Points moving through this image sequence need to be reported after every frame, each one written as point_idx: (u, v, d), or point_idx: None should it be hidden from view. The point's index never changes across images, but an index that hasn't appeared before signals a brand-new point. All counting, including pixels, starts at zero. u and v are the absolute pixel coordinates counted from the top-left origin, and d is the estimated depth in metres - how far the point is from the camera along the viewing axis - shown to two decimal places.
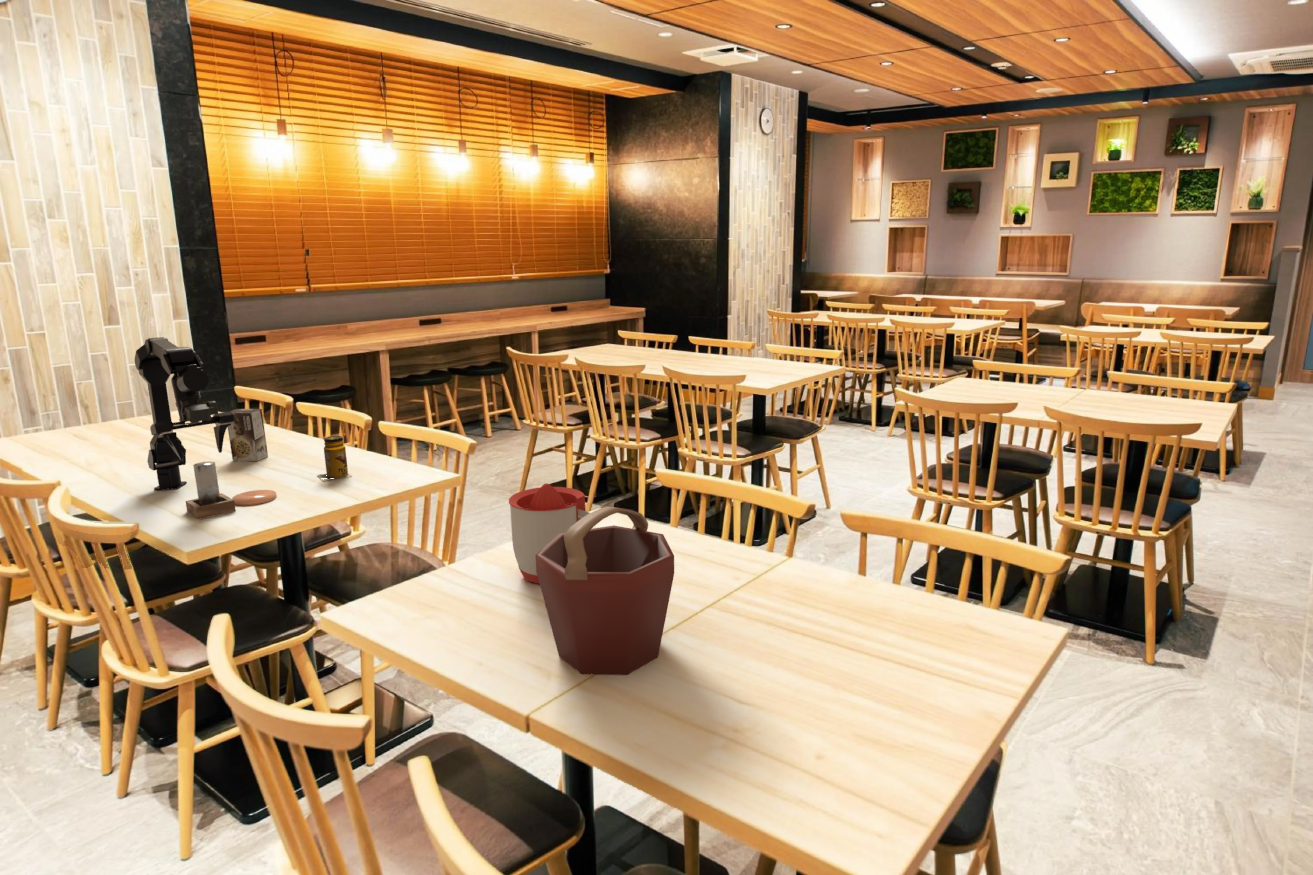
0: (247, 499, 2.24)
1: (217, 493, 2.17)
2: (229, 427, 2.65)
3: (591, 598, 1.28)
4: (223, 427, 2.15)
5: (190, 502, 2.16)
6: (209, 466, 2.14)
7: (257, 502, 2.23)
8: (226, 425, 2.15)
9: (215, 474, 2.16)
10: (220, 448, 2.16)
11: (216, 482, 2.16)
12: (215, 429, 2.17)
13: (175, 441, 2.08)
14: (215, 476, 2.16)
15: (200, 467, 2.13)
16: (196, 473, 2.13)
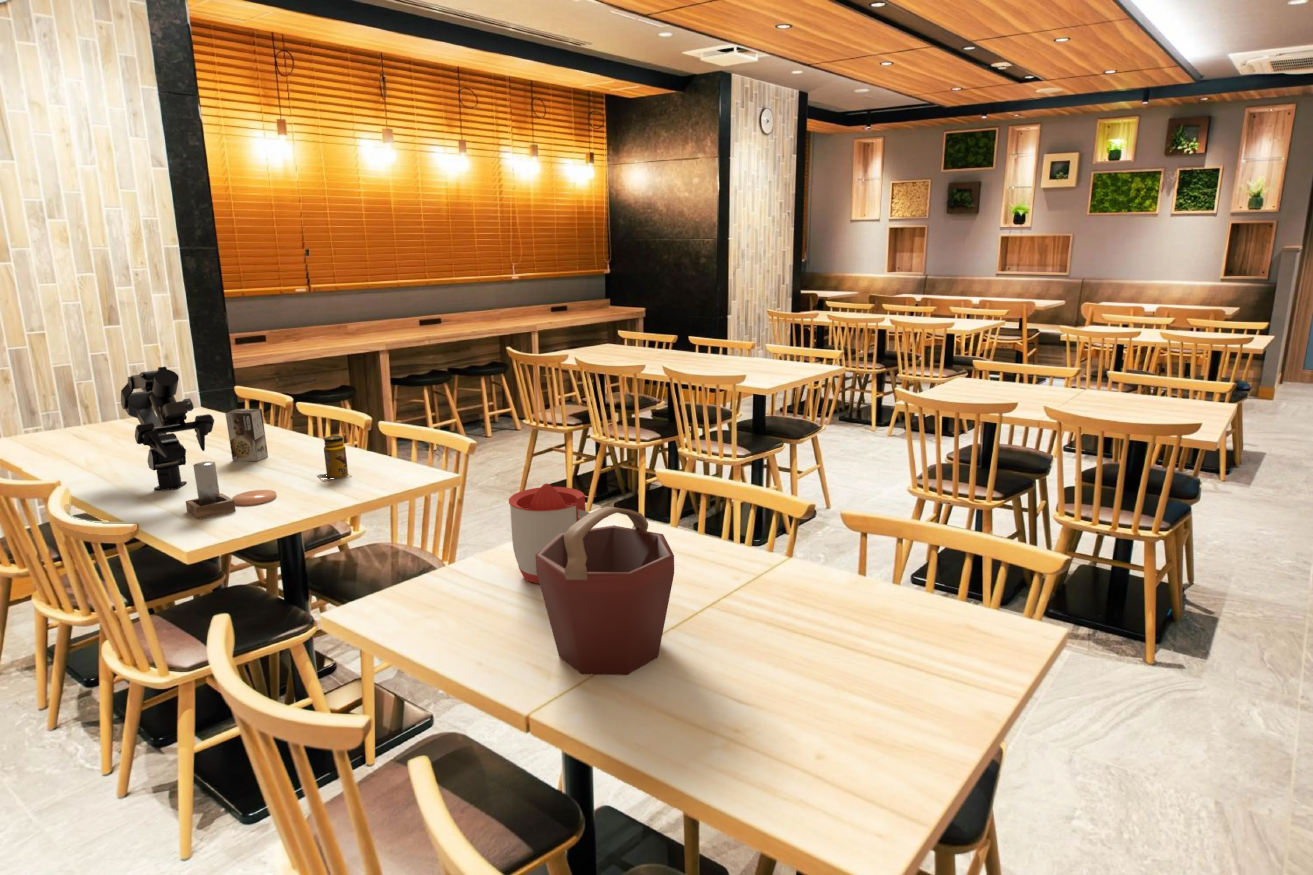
0: (247, 499, 2.24)
1: (217, 493, 2.17)
2: (229, 427, 2.65)
3: (591, 598, 1.28)
4: (202, 426, 2.28)
5: (190, 502, 2.16)
6: (209, 466, 2.14)
7: (257, 502, 2.23)
8: (205, 423, 2.29)
9: (215, 474, 2.16)
10: (203, 445, 2.27)
11: (216, 482, 2.16)
12: (197, 434, 2.30)
13: (158, 440, 2.21)
14: (215, 476, 2.16)
15: (200, 467, 2.13)
16: (196, 473, 2.13)
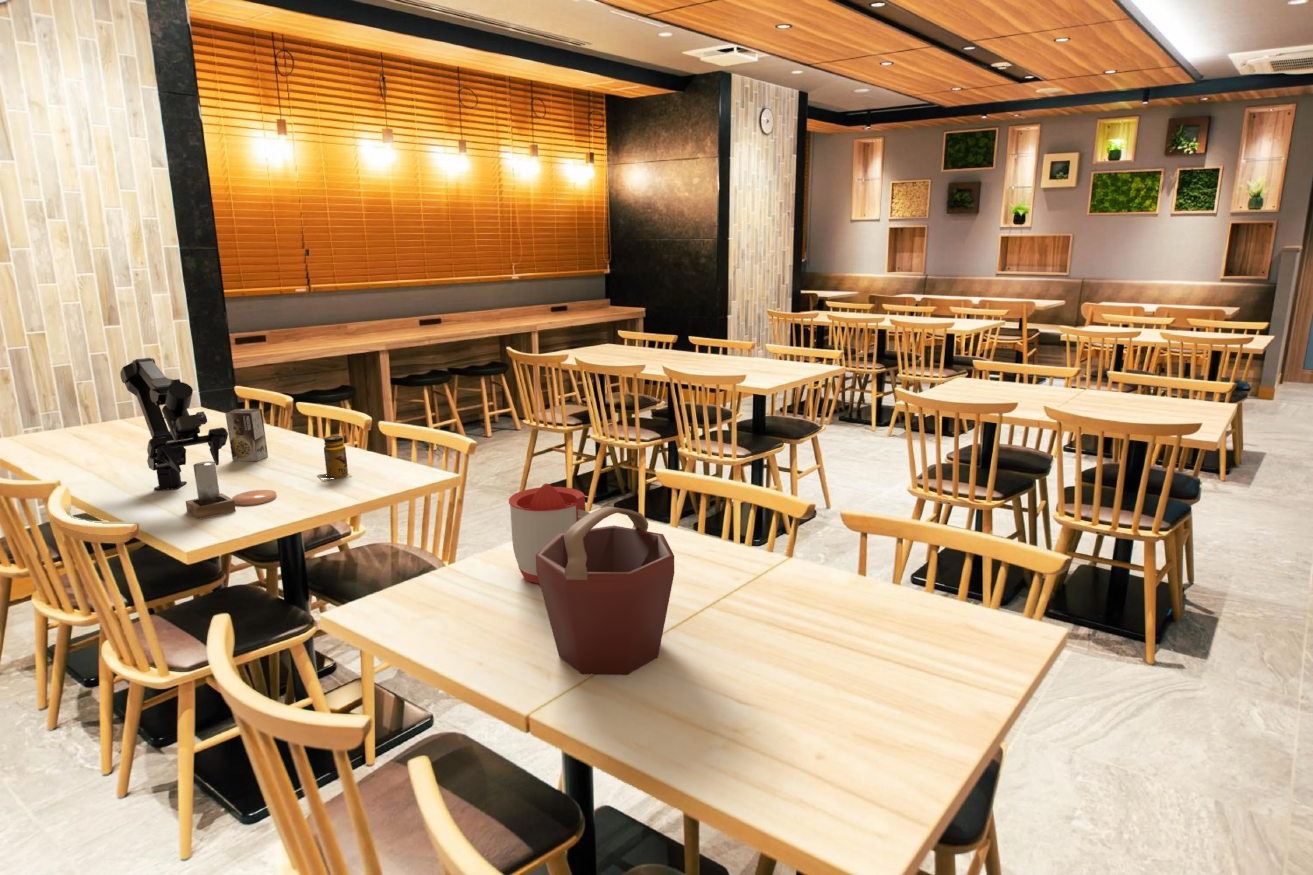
0: (247, 499, 2.24)
1: (217, 493, 2.17)
2: (229, 427, 2.65)
3: (591, 598, 1.28)
4: (216, 439, 2.23)
5: (190, 502, 2.16)
6: (209, 466, 2.14)
7: (257, 502, 2.23)
8: (219, 437, 2.23)
9: (215, 474, 2.16)
10: (217, 459, 2.22)
11: (216, 482, 2.16)
12: (210, 448, 2.25)
13: (171, 455, 2.15)
14: (215, 476, 2.16)
15: (200, 467, 2.13)
16: (196, 473, 2.13)
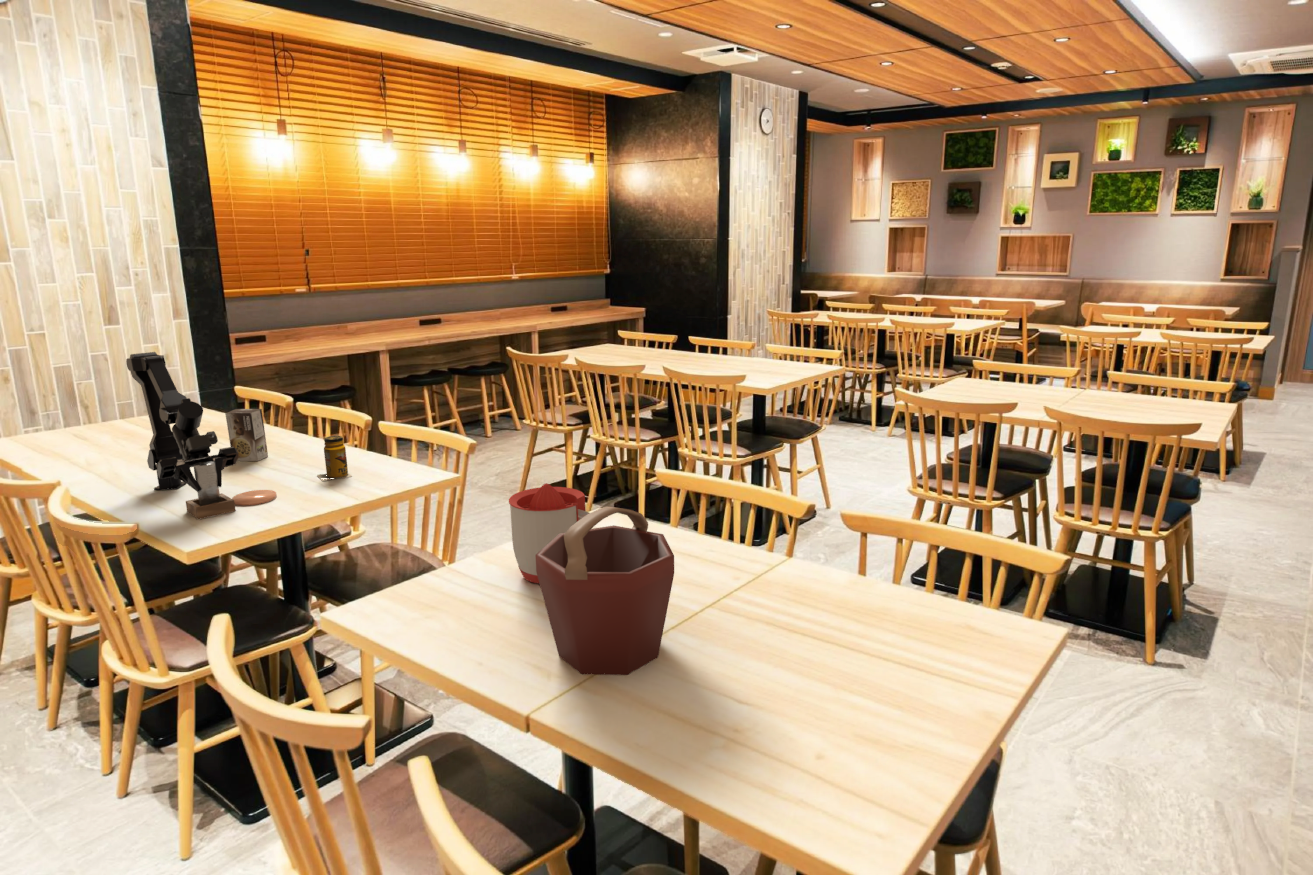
0: (247, 499, 2.24)
1: (217, 493, 2.17)
2: (229, 427, 2.65)
3: (591, 598, 1.28)
4: (219, 461, 2.19)
5: (190, 502, 2.16)
6: (209, 466, 2.14)
7: (257, 502, 2.23)
8: (221, 458, 2.19)
9: (215, 474, 2.16)
10: (219, 481, 2.17)
11: (216, 482, 2.16)
12: None
13: (189, 474, 2.14)
14: (215, 476, 2.16)
15: (200, 467, 2.13)
16: (196, 473, 2.13)
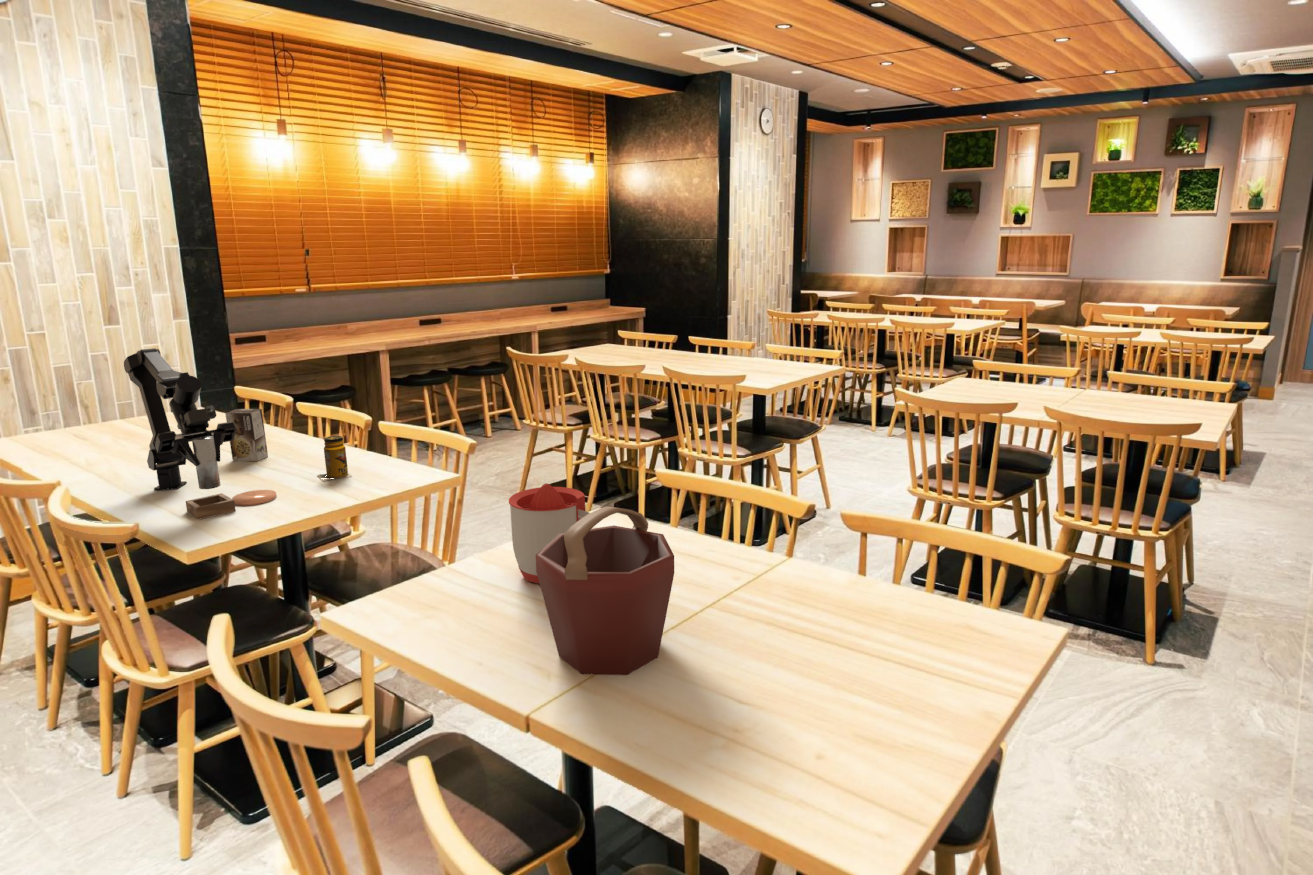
0: (247, 499, 2.24)
1: (216, 468, 2.16)
2: None
3: (591, 598, 1.28)
4: (217, 435, 2.18)
5: (190, 502, 2.16)
6: (208, 440, 2.13)
7: (257, 502, 2.23)
8: (220, 433, 2.18)
9: (214, 448, 2.15)
10: (218, 456, 2.16)
11: (215, 457, 2.15)
12: None
13: (188, 448, 2.13)
14: (214, 450, 2.15)
15: (199, 441, 2.12)
16: (195, 447, 2.12)
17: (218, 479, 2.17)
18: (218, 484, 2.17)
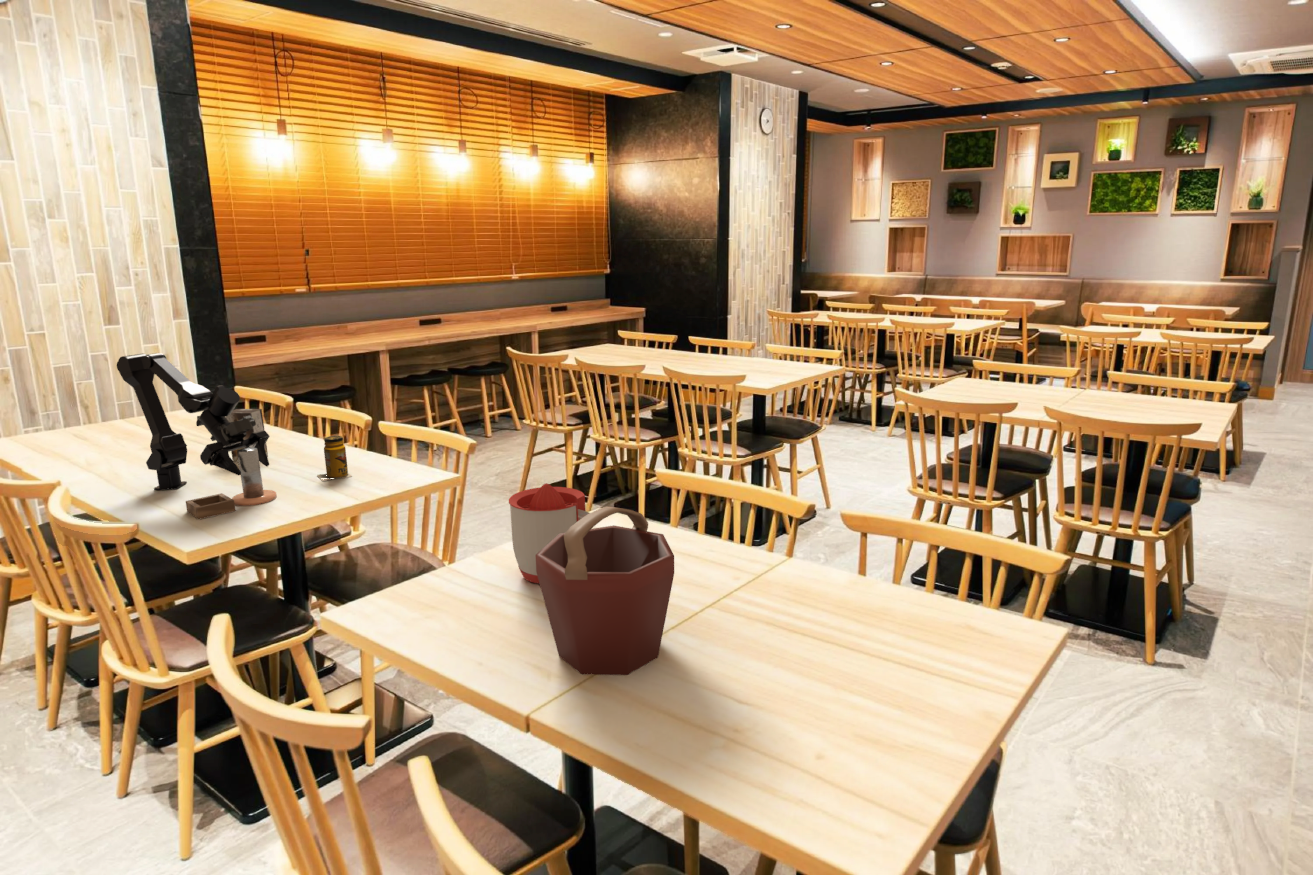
0: (247, 499, 2.24)
1: (261, 477, 2.27)
2: None
3: (591, 598, 1.28)
4: (262, 442, 2.30)
5: (190, 502, 2.16)
6: (255, 451, 2.24)
7: (257, 502, 2.23)
8: (264, 439, 2.31)
9: (258, 459, 2.26)
10: (267, 461, 2.29)
11: (259, 466, 2.27)
12: None
13: (229, 459, 2.21)
14: (258, 461, 2.26)
15: (247, 453, 2.22)
16: (242, 459, 2.23)
17: (262, 488, 2.28)
18: (263, 492, 2.28)
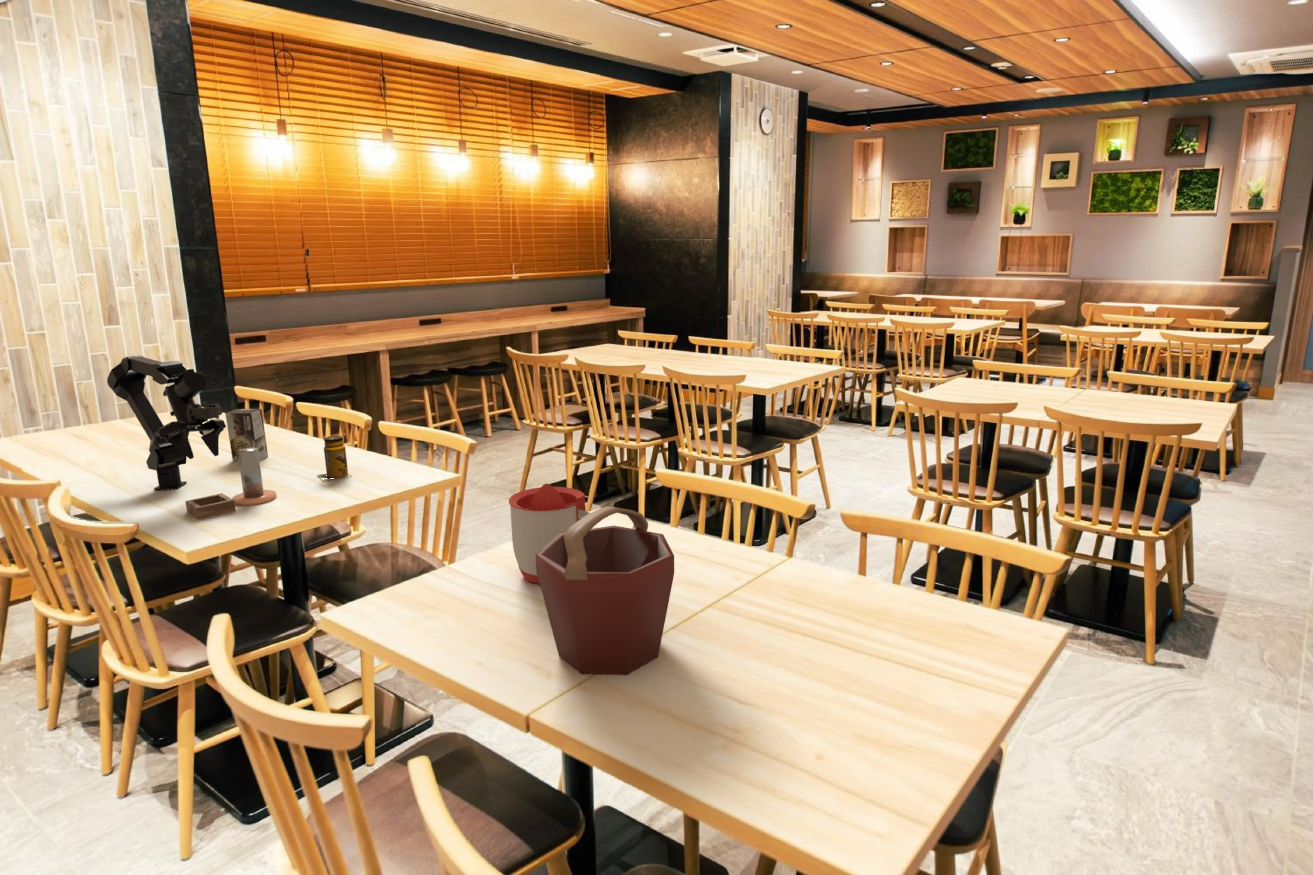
0: (247, 499, 2.24)
1: (261, 477, 2.27)
2: (229, 427, 2.65)
3: (591, 598, 1.28)
4: (218, 431, 2.33)
5: (190, 502, 2.16)
6: (255, 451, 2.24)
7: (257, 502, 2.23)
8: (221, 429, 2.33)
9: None
10: (217, 451, 2.32)
11: None
12: (206, 436, 2.33)
13: (186, 441, 2.22)
14: (259, 461, 2.26)
15: (248, 452, 2.23)
16: (243, 459, 2.23)
17: (262, 488, 2.28)
18: (263, 492, 2.28)
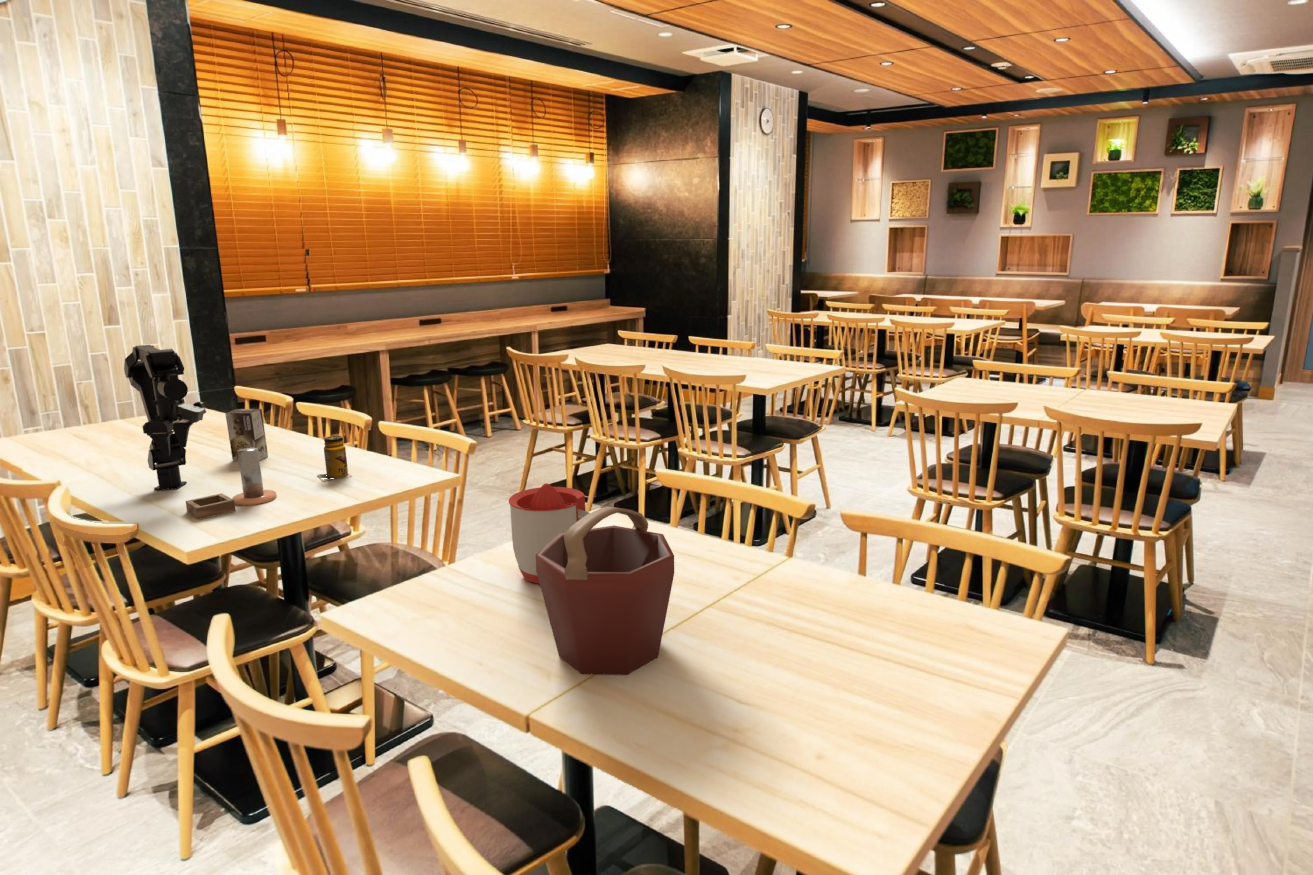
0: (247, 499, 2.24)
1: (261, 477, 2.27)
2: (229, 427, 2.65)
3: (591, 598, 1.28)
4: (191, 424, 2.33)
5: (190, 502, 2.16)
6: (255, 451, 2.24)
7: (257, 502, 2.23)
8: (194, 422, 2.34)
9: None
10: (186, 443, 2.33)
11: None
12: (176, 425, 2.32)
13: (168, 439, 2.22)
14: (259, 461, 2.26)
15: (248, 452, 2.23)
16: (243, 459, 2.23)
17: (262, 488, 2.28)
18: (263, 492, 2.28)
